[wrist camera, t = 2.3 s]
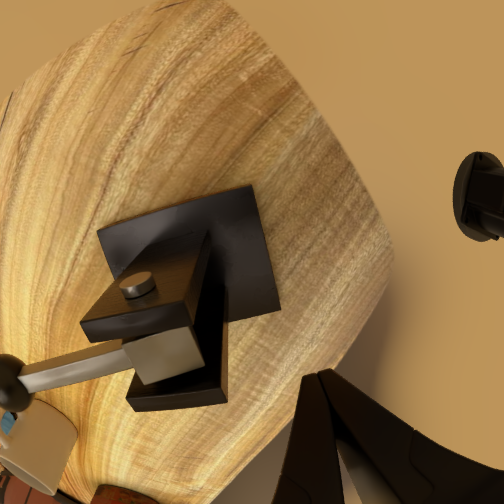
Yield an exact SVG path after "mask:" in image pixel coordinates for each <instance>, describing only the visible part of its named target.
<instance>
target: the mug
mask: <svg viewBox="0 0 504 504" xmlns="http://www.w3.org/2000/svg"><path fill="white" fill-rule="evenodd" d="M5 412H6V410H4V409H2V408H0V443H1V445H2V446H1V448H0V462H1V463H2V464H3V465H4V466H5V467H6V468H7V469H8V470H9V471H10V472H11V473H12V474H14V475H15V476H16V477H18V478H19V479H20V480H22V481H23V482H25V483H26V484H28V485H29V486H31V487H33V488H35V489H36V490H38V491H40V492H43V493H45V494H48V495H51V496H53V495H55V493H56V491H57V488H58V485H59V482H60V480H61V477H62V474H63V471H64V469H65V466H66V464H67V461H68V459H69V456H70V454H71V451H72V449H73V447H74V445H75V442H76V440H77V437H78V434H77V430H76V428H75V427H74V425H73V424H72V423H71V422H70V421H69V420H68V419H67V418H66V417H65V416H64V415H63V414H62V413H61V412H59V411H58V410H57V409H55V408H54V407H52V406H50V405H49V404H47V403H45V402H43V401H40V400H36V399H34V400H33V402H32V404H31V405H30V407H29V408H27V409H26V410H24V411H22V412H18V413H16V414H17V415H18V418H17V419H16V421H15V423H14V425H13V426H12V428H11V430H10V432H9V433H8V435H6V434H5V433H4V432H3V431H2V429H1V419H2V417H3V415H4V413H5Z"/></svg>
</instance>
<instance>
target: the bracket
mask: <svg viewBox="0 0 504 504" xmlns="http://www.w3.org/2000/svg"><path fill="white" fill-rule="evenodd" d="M97 235H98V237H99V240H100V243H101V246H102V249H103V251H104V254H105V257H106V259H107V262H108V265H109V267H110V270H111V272H112V275H113V277H114V280H115V281H114V282H113V283H112V284H111V285H110V286H109V287H108V289H107V290H106V291H105V292H104V293H103V294H102V296H101V297H100V298H99V299H98V300H97V301H96V303H95V304H94V305H93V306H92V307H91V309H90V310H89V311H88V312H87V313H86V315H85V316H84V317H83V318H82V320H81V321H80V325H81V327H82V329H83V331H84V333H85V334H86V336H87V338H88V340H89V342H90V343H96V342H103V341H109V340H116V339H122V338H128V337H134V336H140V335H146V334H151V333H157V332H162V331H168V330H173V329H178V328H183V327H188V326H193V329H194V331H195V334H196V336H197V339H198V342H199V346H200V349H201V352H202V356H203V359H204V362H205V366H204V367H201V368H198V369H195V370H192V371H189V372H186V373H183V374H180V375H177V376H174V377H171V378H167V379H164V380H161V381H157V382H154V383H151V384H147V385H144V384H143V382H142V381H141V379H140V377H139V376H138V374H137V373H136V371H135V374H134V376H133V379H132V382H131V384H130V387H129V390H128V392H127V395H126V400H127V401H128V403H129V404H130V406H131V407H132V408H133V410H134V411H135V412H149V411H164V410H175V409H185V408H194V407H202V406H209V405H216V404H223V403H227V402H228V323H229V322H233V321H238V320H242V319H246V318H251V317H255V316H259V315H263V314H267V313H271V312H275V311H279V310H281V306H280V301H279V297H278V292H277V288H276V284H275V280H274V275H273V271H272V267H271V262H270V258H269V254H268V250H267V245H266V241H265V237H264V233H263V229H262V225H261V220H260V216H259V212H258V208H257V204H256V200H255V196H254V192H253V188H252V185H251V184H250V183H249V184H245V185H241V186H237V187H233V188H229V189H226V190H222V191H218V192H214V193H211V194H207V195H203V196H200V197H196V198H193V199H189V200H186V201H182V202H179V203H175V204H172V205H169V206H165V207H162V208H159V209H156V210H152V211H149V212H146V213H143V214H140V215H137V216H134V217H131V218H128V219H125V220H122V221H119V222H116V223H113V224H110V225H107V226H104V227H102V228H100V229H99V230H97Z"/></svg>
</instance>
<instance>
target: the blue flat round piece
mask: <svg viewBox="0 0 504 504" xmlns="http://www.w3.org/2000/svg"><path fill="white" fill-rule="evenodd" d="M14 423H15V418H14V416H13V415H12V414H11V413H10V412H8V411H6V412H5V413H4V415H3V417H2V419H1V429H2V431H3V432H4V433H5V434H6V435H8V433H9V432H10V430H11V428H12V426H13V425H14Z"/></svg>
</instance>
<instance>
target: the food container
mask: <svg viewBox="0 0 504 504" xmlns="http://www.w3.org/2000/svg"><path fill="white" fill-rule="evenodd" d="M90 504H159V503H158V502H156V501H155V500H153V499H151V498H149V497H146V496H144V495H142V494H139V493H137V492H134V491H130V490H127V489H123V488H119V487H115V486H109V485H102V486H98V488H97V490H96V492H95V494H94V496H93V499H92V501H91V503H90Z"/></svg>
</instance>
